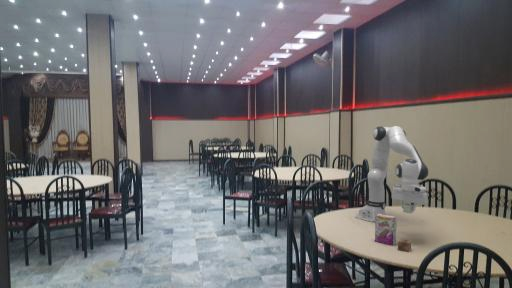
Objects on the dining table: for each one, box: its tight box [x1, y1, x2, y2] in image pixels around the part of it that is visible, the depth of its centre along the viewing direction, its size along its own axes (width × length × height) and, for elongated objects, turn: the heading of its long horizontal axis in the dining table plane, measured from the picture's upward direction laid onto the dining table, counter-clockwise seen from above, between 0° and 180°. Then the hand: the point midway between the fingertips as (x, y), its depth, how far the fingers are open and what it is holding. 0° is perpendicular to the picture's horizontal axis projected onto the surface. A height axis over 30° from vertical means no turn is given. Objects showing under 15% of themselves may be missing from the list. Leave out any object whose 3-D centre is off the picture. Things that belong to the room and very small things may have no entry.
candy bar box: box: [374, 214, 397, 246], centre depth 209 cm, size 11×5×16 cm, turn 48°
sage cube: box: [402, 202, 415, 214], centre depth 207 cm, size 4×4×4 cm
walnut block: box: [397, 238, 412, 253], centre depth 198 cm, size 6×6×5 cm
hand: (408, 209), depth 207 cm, fingers closed on sage cube, 4 cm apart
